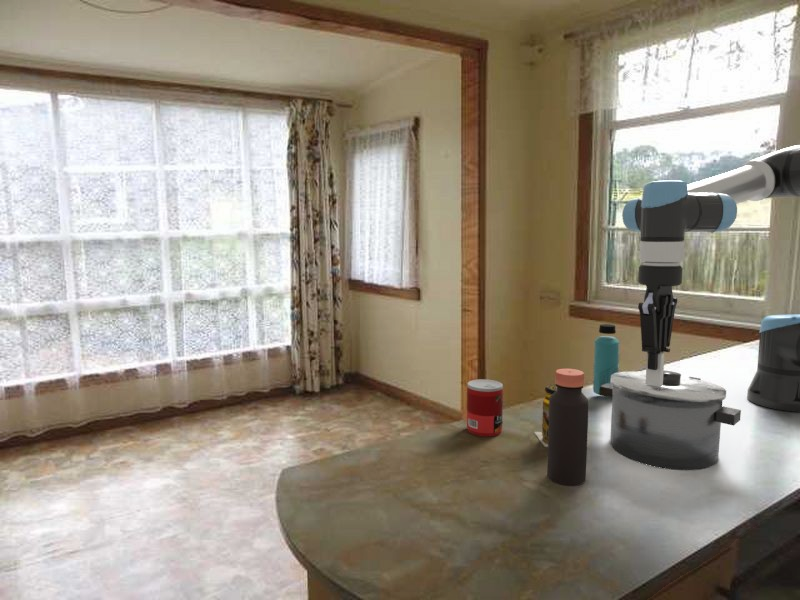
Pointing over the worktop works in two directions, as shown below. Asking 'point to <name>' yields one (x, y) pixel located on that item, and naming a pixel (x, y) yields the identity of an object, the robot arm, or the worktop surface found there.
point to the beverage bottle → (605, 357)
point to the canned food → (484, 407)
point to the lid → (670, 387)
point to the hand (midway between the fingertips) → (654, 384)
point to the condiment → (546, 415)
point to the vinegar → (568, 429)
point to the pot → (666, 429)
